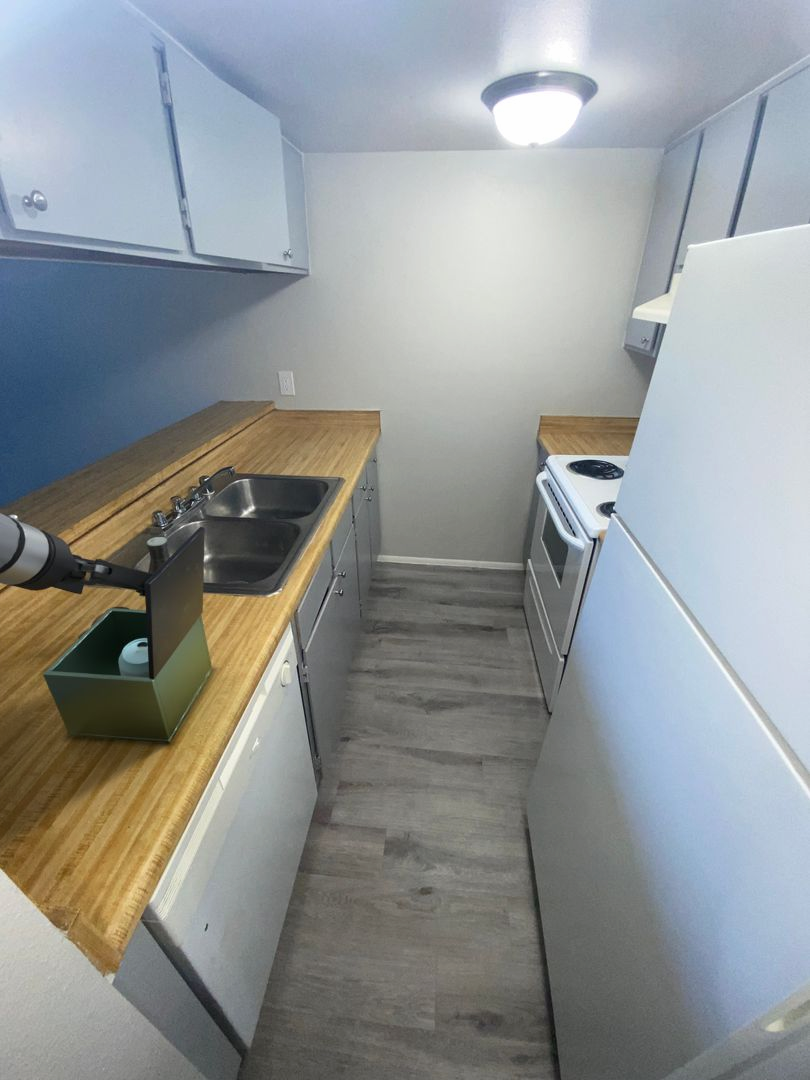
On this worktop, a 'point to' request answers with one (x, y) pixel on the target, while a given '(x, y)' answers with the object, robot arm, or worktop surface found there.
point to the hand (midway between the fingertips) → (121, 588)
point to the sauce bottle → (157, 553)
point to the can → (135, 659)
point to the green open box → (126, 682)
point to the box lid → (174, 601)
